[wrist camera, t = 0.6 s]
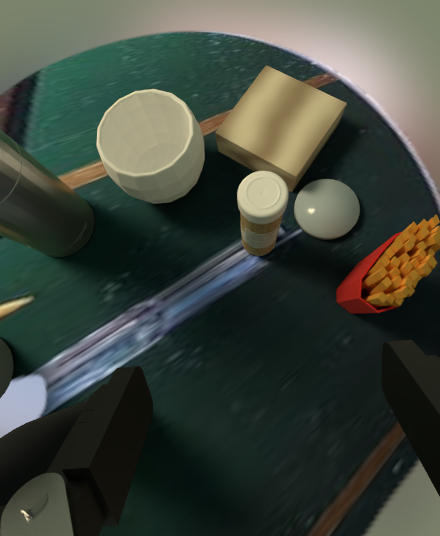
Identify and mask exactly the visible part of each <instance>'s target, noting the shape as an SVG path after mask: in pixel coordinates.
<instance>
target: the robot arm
mask: <svg viewBox="0 0 440 536" xmlns="http://www.w3.org/2000/svg"><path fill="white" fill-rule="evenodd" d="M94 225H95V217H94V213H93V210H92V209H91V207H90V205H89V204H88V203H87V202H86V201H85V200H84V199H83V198H81V197H80V196H79V195H78V194H77V193H75V192H74V191H73V190H72V189H71V188H70V187H68V186H67V185H66V184H65V183H64V182H62V181H61V180H60V179H59V178H58V177H56V176H55V175H54V174H53V173H52V172H51V171H49V170H48V169H47V168H46V167H45V166H43V165H42V164H41V163H40V162H39V161H37V160H36V159H35V158H34V157H33V156H31V155H30V154H29V153H28V152H27V151H25V150H24V149H23V148H22V147H21V146H19V145H18V144H17V143H16V142H15V141H13V140H12V139H11V138H10V137H9V136H7V135H6V134H5V133H4V132H2V131H1V130H0V235H1V236H3V237H6V238H8V239H11V240H13V241H15V242H18V243H20V244H23V245H25V246H27V247H29V248H32V249H34V250H37V251H39V252H42V253H44V254H47V255H49V256H53V257H65V256H68V255H71V254H73V253H75V252H77V251H78V250H80V249H81V248H82V247H83V246H84V245H85V244H86V243H87V242H88V240H89V239H90V237H91V235H92V233H93V230H94ZM382 387H383V391H384V395H385V397H386V400H387V402H388V404H389V405H390V407H391V409H392V411H393V413H394V414H395V416H396V418H397V420H398V422H399V424H400V425H401V427H402V429H403V431H404V433H405V434H406V436H407V438H408V440H409V442H410V443H411V445H412V447H413V449H414V451H415V452H416V454H417V456H418V458H419V460H420V461H421V463H422V465H423V467H424V469H425V470H426V472H427V474H428V476H429V478H430V479H431V481H432V483H433V485H434V487H435V489H436V490H437V492H438V494H439V496H440V358H439V357H437V356H435V355H430V356H426V355H425V354H424V353H423V352H422V351H421V349H420V348H419V347H418V346H417V345H416V344H415V343H414V342H413V341H412V340H403V341H393V342H385V343H384V344H383V352H382ZM152 415H153V401H152V397H151V394H150V391H149V388H148V385H147V382H146V379H145V376H144V373H143V371H142V368H141V367H140V366H132V367H122V368H117V369H116V370H115V371H114V373H113V375H112V377H111V379H110V381H109V382H108V384H106V385H102V386H101V387H100V388H99V389H98V390H97V391H96V392H95V393H94V394H93V395H92V396H91V397H90V398H89V400H88V401H87V403H86V405H85V407H84V408H83V410H82V414H80V415H79V417H78V419H77V420H76V422H75V425H73V427H72V429H71V431H70V432H69V434H68V436H67V437H66V439H65V441H64V443H63V444H62V446H61V448H60V449H59V451H58V453H57V455H56V456H55V458H54V460H53V461H52V463H51V465H50V467H49V468H48V470H47V472H46V473H45V474H42V475H40V476H37V477H35V478H33V479H32V480H30V481H29V482H27V483H26V484H25V485H23V486H22V487H21V488H20V489H19V490H18V491H17V492H16V493H15V494H14V495H13V497H12V498H11V499H10V501H9V502H8V504H7V505H4V506H2V507H0V536H99V535H100V532H101V529H102V526H117V525H118V523H119V520H120V516H121V513H122V510H123V507H124V504H125V501H126V498H127V494H128V491H129V488H130V485H131V482H132V479H133V476H134V473H135V469H136V466H137V463H138V460H139V457H140V454H141V451H142V447H143V444H144V441H145V438H146V435H147V432H148V429H149V425H150V422H151V419H152Z"/></svg>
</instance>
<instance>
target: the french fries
mask: <svg viewBox="0 0 440 536" xmlns="http://www.w3.org/2000/svg"><path fill="white" fill-rule="evenodd" d="M439 222H440V221H439V219H438V217H437V215H435V216H434V217H433V218H432V219H431V220H429V221H428V222H427V221H426V220H425V219H424V220H423V221H422V222H421V223H420V224H419V225H418V226H417V225H416V224H415V222H413V223H412V224H411V225H410V226H409V227H408V228H406V229H405V230H404V231H403V232H401V233H397V234H395V235H394V236H393V237H391V238H390V239H389V240H388V241H386V242H385V243H384V244H382V245H381V246H380V247H379V248H377V249H376V250H375V251H373V252H372V253H371V254H370V255H368V256H367V257H366V258H364V259H363V260H362V261H361V262H359V263H358V264H357V265H356V266H355V267H354V269H353V270H352V271H351V272H350V273H349V274H348V276H347V277H346V278H345V279H344V281H343V282H342V283H341V284H340V286H339V287H338V289H337V290H336V292H337V303H338V304H339V305H341V306H342V307H343V308H344V309H346V310H347V311H348V312H350V313H351V314H353V313H379V312H383V311H386V310H390V309H393V308H397V307H398V306H400V305H401V304H402V302H403V300H404V299H403V298H405V297H409V296H411V295H412V294H413V293H414V292H415V290H414V288H415V287H416V285H417V283H418V281H419V280H420V279H421V278H422V277H424V276H428V275H429V273H430V272H431V271H432V270H431V269H433V268H434V267H435V265H436V264H437V262H436V260H435V252H436V251H437V250H439V249H440V226H438V227H436V228H434V227H435V226H436V225H437V224H438V223H439ZM432 228H434V229H432ZM431 229H432V230H431ZM430 230H431V231H430Z"/></svg>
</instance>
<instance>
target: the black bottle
mask: <svg viewBox="0 0 440 536" xmlns="http://www.w3.org/2000/svg"><path fill="white" fill-rule="evenodd" d="M87 401H88V400H87ZM87 401H85V402H82V403H79V404H76V405H74V406H71V407H68V408H66V409H63V410H60V411H57V412H55V413H52V414H49V415H47V416H44V417H41V418H38V419H36V420H33V421H30V422H28V423H26V424H24V425H22V426H20V427H18V428H16V429H14V430H13V431H11V432H9V433H8V434H6V435H5V436H3V437H2V438H0V507H2V506H4V505H7V504H8V502H9V501H10V499H11V498H12V497H13V495H14V494H15V493H16V492H17V491H18V490H19V489H20V488H21V487H22V486H23V485H25V484H26V483H27V482H29V481H30V480H32V479H33V478H35V477H37V476H40V475H42V474H45V473H46V472H47V470H48V468H49V467H50V465H51V463H52V461H53V460H54V458H55V456H56V455H57V453H58V451H59V449H60V448H61V446H62V444H63V443H64V441H65V439H66V437H67V436H68V434H69V432H70V431H71V429H72V427H73V425H75V422H76V420H77V419H78V417H79V415H80V414H82V410H83V408H84V407H85V405H86V403H87Z"/></svg>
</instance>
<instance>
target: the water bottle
mask: <svg viewBox="0 0 440 536" xmlns="http://www.w3.org/2000/svg"><path fill="white" fill-rule="evenodd" d="M12 374H13V357H12V354H11V351H10V349H9V347H8V346H7V344H6V343H5V342H4V341H3V340H2V339H1V338H0V398H1V397H2V395H3V394H4V393H5V391H6V390H7V388H8V386H9V384H10V381H11V379H12Z"/></svg>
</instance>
